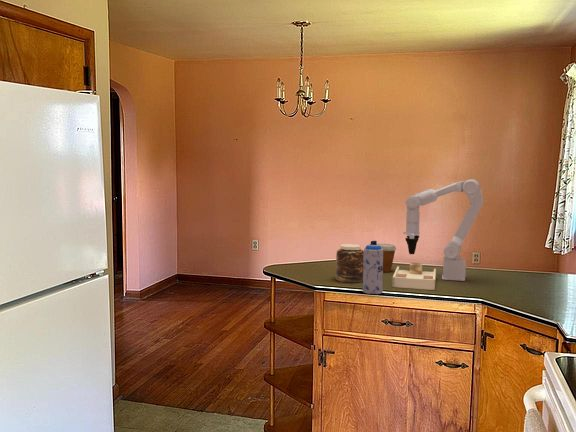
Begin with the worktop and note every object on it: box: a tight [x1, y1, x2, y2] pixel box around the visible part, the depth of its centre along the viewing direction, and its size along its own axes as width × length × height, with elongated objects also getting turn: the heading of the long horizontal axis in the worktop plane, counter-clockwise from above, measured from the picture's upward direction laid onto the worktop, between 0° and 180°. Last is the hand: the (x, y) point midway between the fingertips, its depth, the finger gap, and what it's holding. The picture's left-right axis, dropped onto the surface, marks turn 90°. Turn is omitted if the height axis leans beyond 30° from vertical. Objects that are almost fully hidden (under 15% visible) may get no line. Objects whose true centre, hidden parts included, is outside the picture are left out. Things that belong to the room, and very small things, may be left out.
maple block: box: [409, 262, 423, 275], centre depth 231 cm, size 5×5×4 cm
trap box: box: [391, 265, 437, 291], centre depth 225 cm, size 17×24×4 cm
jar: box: [335, 243, 364, 284], centre depth 228 cm, size 12×12×15 cm
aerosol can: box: [361, 240, 384, 295], centre depth 207 cm, size 8×8×20 cm
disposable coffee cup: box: [377, 243, 397, 273], centre depth 247 cm, size 10×10×12 cm
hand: (412, 252), depth 238 cm, fingers open, 7 cm apart
